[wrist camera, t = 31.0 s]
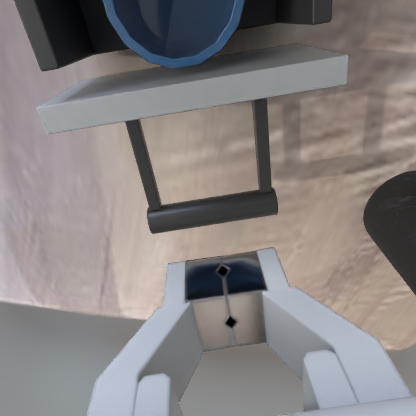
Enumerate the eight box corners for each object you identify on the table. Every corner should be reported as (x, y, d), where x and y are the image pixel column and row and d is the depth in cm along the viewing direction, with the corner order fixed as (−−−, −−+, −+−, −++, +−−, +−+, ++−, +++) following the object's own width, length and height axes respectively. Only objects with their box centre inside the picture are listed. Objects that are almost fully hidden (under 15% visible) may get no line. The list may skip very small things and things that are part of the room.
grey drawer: (298, 160, 24) (338, 211, 17) (118, 189, 24) (94, 249, 18) (295, -247, 14) (384, -463, 8) (-6, -189, 14) (-155, -350, 8)
